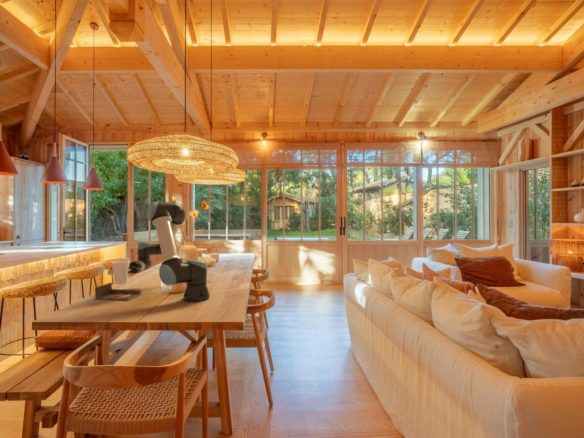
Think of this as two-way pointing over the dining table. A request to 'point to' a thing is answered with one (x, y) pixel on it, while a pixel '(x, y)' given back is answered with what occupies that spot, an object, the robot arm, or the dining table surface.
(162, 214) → the robot arm
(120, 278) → the foam cup
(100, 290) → the wooden-edged grey tray
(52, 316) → the dining table surface
